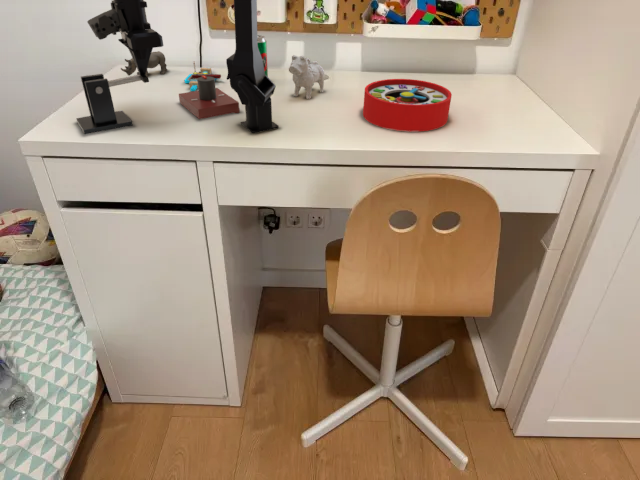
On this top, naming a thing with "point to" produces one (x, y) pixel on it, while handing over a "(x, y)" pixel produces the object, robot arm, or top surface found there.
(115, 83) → the lever
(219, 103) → the dial panel
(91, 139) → the top surface
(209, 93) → the timer dial
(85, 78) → the lever bracket
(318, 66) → the dog figurine
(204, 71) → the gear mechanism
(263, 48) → the soda can
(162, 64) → the rhino figurine
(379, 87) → the toy clock
